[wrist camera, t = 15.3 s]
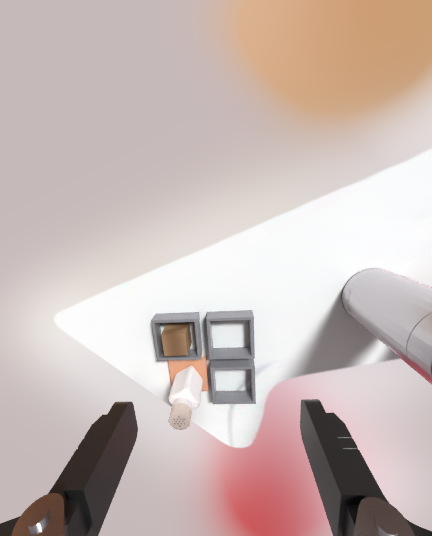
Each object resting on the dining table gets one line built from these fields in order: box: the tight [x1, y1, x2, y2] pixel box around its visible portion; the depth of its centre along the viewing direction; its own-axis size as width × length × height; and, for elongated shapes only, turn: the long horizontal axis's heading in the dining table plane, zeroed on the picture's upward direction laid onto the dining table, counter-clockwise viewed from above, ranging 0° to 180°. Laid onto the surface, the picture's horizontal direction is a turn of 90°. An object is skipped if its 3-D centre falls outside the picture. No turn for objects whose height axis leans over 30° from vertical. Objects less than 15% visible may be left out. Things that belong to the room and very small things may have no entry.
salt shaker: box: [169, 366, 203, 430], centre depth 38 cm, size 4×4×10 cm
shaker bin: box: [210, 358, 256, 404], centre depth 42 cm, size 8×8×2 cm
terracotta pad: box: [168, 357, 209, 391], centre depth 43 cm, size 7×7×1 cm
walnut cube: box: [161, 322, 192, 356], centre depth 39 cm, size 4×4×4 cm
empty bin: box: [206, 310, 254, 359], centre depth 39 cm, size 8×8×2 cm
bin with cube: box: [151, 312, 202, 361], centre depth 40 cm, size 8×8×2 cm
